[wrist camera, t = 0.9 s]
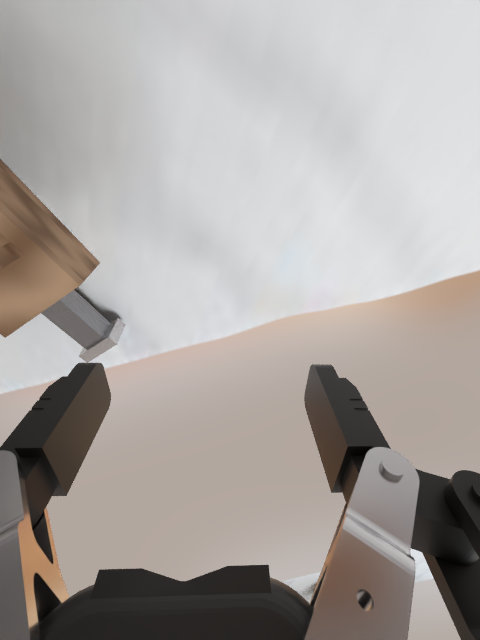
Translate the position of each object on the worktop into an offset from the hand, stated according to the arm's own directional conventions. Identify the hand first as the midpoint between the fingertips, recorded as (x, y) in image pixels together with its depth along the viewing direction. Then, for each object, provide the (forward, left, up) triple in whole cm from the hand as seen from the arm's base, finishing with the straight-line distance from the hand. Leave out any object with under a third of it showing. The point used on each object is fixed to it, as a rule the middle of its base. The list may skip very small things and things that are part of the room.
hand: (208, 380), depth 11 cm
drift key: (-2, -17, -22) cm, 28 cm away
